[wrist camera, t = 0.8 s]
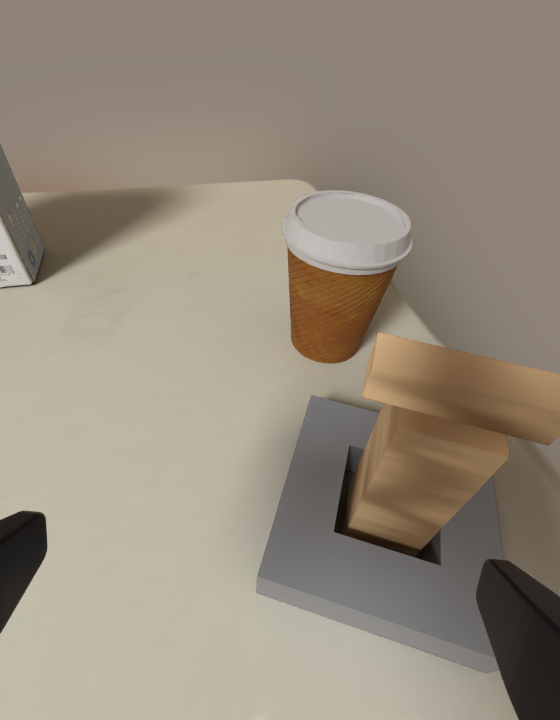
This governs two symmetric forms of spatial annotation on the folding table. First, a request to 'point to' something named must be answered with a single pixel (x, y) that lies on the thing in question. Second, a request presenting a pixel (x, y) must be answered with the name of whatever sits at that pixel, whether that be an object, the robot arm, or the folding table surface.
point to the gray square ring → (376, 551)
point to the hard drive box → (16, 233)
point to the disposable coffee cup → (340, 268)
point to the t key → (439, 436)
